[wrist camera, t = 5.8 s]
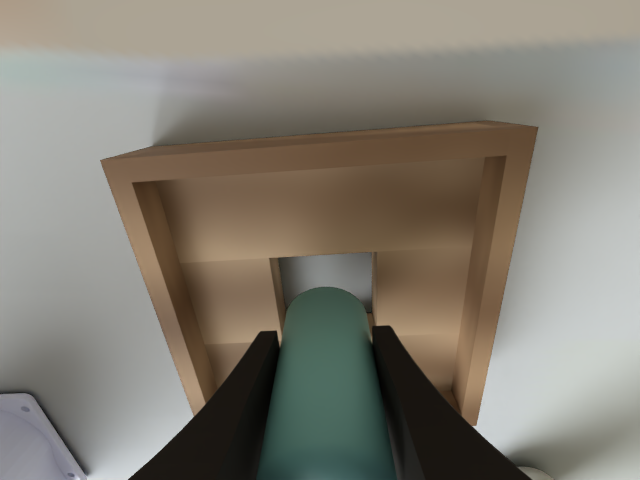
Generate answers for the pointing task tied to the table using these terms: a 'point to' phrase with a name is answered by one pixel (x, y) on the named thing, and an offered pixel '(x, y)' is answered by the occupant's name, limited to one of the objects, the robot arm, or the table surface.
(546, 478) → the plastic bottle
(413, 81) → the table surface
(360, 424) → the peg
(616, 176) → the table surface
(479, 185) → the crate
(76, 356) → the table surface
